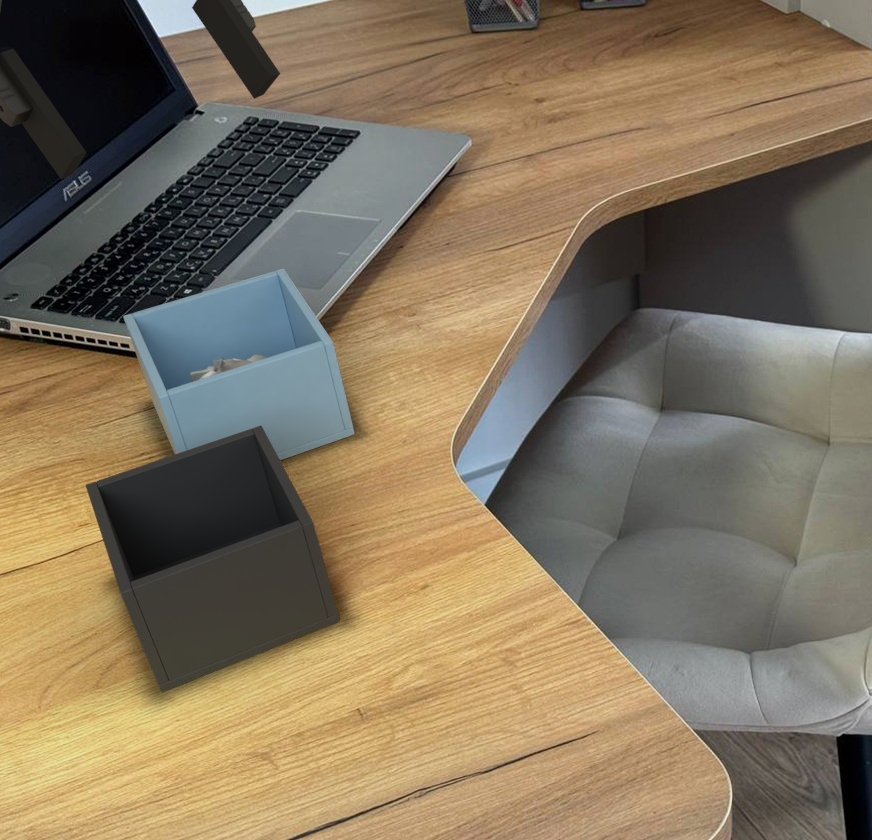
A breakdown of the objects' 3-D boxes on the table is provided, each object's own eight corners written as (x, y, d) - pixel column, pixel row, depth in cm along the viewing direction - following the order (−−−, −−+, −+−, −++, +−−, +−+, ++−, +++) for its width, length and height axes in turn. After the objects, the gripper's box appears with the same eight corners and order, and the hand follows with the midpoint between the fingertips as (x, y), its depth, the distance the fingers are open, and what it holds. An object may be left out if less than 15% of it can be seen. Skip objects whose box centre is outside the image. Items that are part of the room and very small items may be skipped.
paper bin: (191, 492, 85) (158, 397, 80) (154, 405, 93) (122, 315, 88) (355, 434, 89) (333, 341, 84) (306, 356, 97) (283, 267, 92)
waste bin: (161, 693, 71) (120, 593, 67) (124, 581, 79) (85, 484, 74) (340, 621, 75) (313, 521, 70) (289, 521, 82) (261, 424, 78)
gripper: (120, -198, 84) (311, 86, 86) (-287, -112, 68) (-37, 234, 70) (157, -279, 78) (361, 27, 81) (-278, -207, 62) (-6, 174, 65)
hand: (176, 124), depth 75 cm, fingers open, 13 cm apart
